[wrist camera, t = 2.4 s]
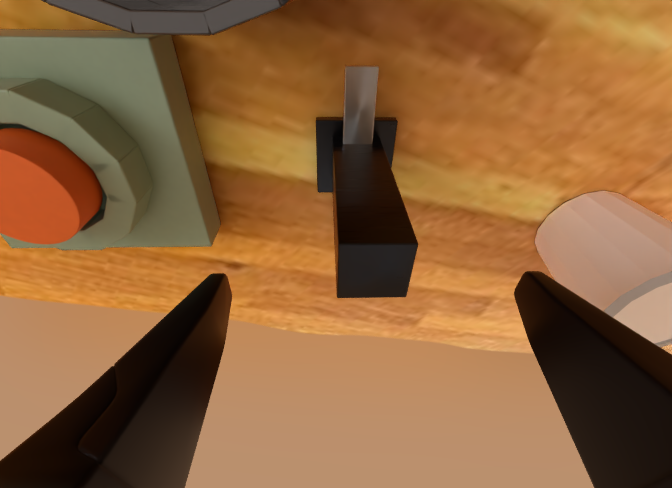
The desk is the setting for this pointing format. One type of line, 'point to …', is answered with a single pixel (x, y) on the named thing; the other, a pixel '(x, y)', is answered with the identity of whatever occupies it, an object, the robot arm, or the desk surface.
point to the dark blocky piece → (364, 194)
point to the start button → (43, 188)
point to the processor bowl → (170, 14)
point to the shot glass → (613, 259)
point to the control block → (114, 131)
